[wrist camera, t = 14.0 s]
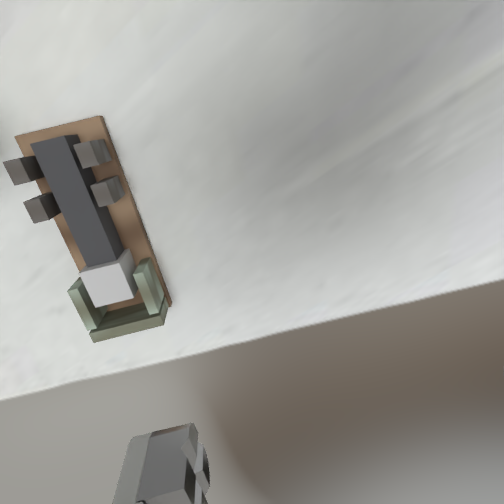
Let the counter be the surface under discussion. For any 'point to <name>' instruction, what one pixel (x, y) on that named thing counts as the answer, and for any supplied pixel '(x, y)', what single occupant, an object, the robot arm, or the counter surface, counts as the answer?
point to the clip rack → (125, 220)
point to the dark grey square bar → (87, 222)
